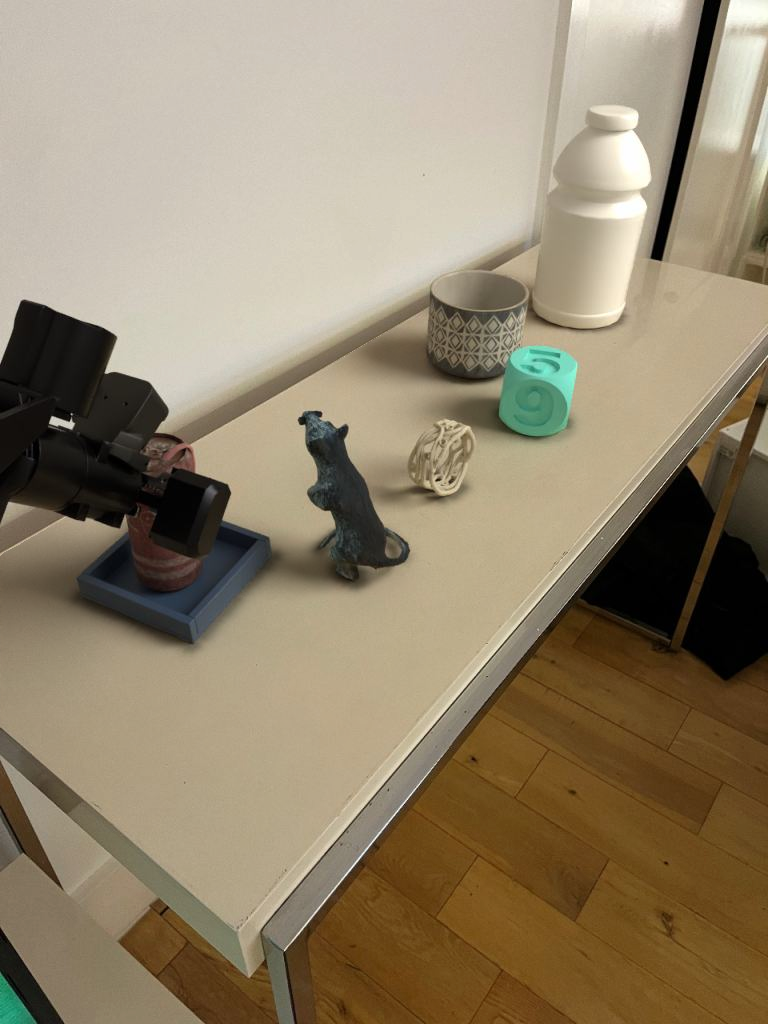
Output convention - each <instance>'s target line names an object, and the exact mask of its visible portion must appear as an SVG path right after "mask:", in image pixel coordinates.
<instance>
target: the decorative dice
mask: <svg viewBox="0 0 768 1024" xmlns="http://www.w3.org/2000/svg"><path fill="white" fill-rule="evenodd" d="M578 365H579V364H578V362H577V361H576V360H575V358H574V357H573V356H572V355H570V354H569V353H568V352H566V351H564V350H562V349H559V348H556V347H552V346H548V345H547V346H546V345H528V346H527V345H526V346H523V347H521V348H520V349H518V350H516V351H514V352H513V353H511V354H510V355H509V358H508V362H507V366H506V370H505V374H503V375H504V377H503V381H502V388H501V393H500V398H499V399H500V400H499V401H500V402H499V407H498V417H499V419H500V420H501V421H502V422H503V424H505V426H507V427H508V428H509V429H511V430H512V431H513V432H516V433H518V434H521V435H525V436H531V437H547V436H548V437H549V436H552V435H554V434H557V433H559V432H561V431H562V430H565V429H566V428H567V424H568V419H569V415H570V409H571V404H572V400H573V396H574V395H573V394H574V389H575V383H576V378H577V371H578Z"/></svg>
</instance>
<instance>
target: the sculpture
mask: <svg viewBox="0 0 768 1024" xmlns="http://www.w3.org/2000/svg"><path fill="white" fill-rule="evenodd" d="M322 417H323V412H322V410H305V411H303V412H302V413H301V416H299V417H298V418H297V422H298V425H299V426H305V427H304V430H305V431H304V442H305V443H304V444H305V447H306V450H307V451H308V453H309V455H310V456H311V457H312V459H313V461H314V464H315V467H316V472H317V473H316V474H317V475H316V476H317V477H316V478H317V480H316V481H315V482H314V484H313V485H311V486H310V487H309V488H308V489H307V491H306V495H307V498H308V499H309V501H310V502H311V503H312V505H314V506H315V507H316V508H318V509H320V510H321V511H324V512H330V514H331V516H332V519H333V521H334V527H335V529H334V530H333V531H332V532H330V533H329V534H328V535H327V537H326V538H325V539H324V540H323V541H322V543H321V545H320V546H319V549H320V550H323V549H324V548H325V547H326V546H327V545H328V544H330V542H331V541H332V540H333V539H334V540H333V541H332V544H331V545H330V548H329V549H330V551H329V553H330V555H329V556H330V558H331V559H332V562H333V563H334V564H335V565H336V566H337V568H336V569H335V571H336V572H337V573H338V575H340V576H341V577H344V578H345V579H348V580H351V581H354V582H357V580H358V579H359V578H360V574H359V569H358V567H359V566H362V567H370V568H372V569H374V570H378V569H383V568H393V567H395V566H400V565H403V564H406V563H407V560H408V558H409V555H410V553H411V549H410V546H409V545H410V544H409V543H408V541H406V539H404V538H403V537H401V536H400V535H399V534H398V533H396V532H395V531H392V530H391V529H390V528H388V527H386V526H385V524H384V523H383V521H382V520H381V518H380V517H379V515H378V513H377V511H376V509H375V506H374V503H373V501H372V498H371V495H370V490H369V486H368V484H367V482H366V480H365V477H363V475H362V474H361V473H360V471H359V470H358V469H357V467H356V466H355V464H354V463H353V462H352V461H351V458H350V457H349V454H348V450H347V446H346V442H345V439H346V438H347V436H348V434H349V425H348V424H347V423H344V424H342V425H341V426H340V427H336V426H335V425H334V424H333V423H332V422H331V421H330V420H322V419H321V418H322ZM387 538H390V539H391V540H393V541H394V542H396V544H397V545H398V547H399V548H400V551H401V552H400V555H398V557H392V558H391V557H389V556H387V554H386V549H387V543H388V542H387V541H388V540H387Z"/></svg>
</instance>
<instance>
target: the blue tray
mask: <svg viewBox="0 0 768 1024" xmlns="http://www.w3.org/2000/svg"><path fill="white" fill-rule="evenodd" d="M272 556H273V555H272V549H271V538H270V536H267V535H266V534H262V533H259V532H257V531H254V530H251V529H248V528H246V527H242V526H239V525H237V524H234V523H231V522H229V521H226V520H224V519H222V522H221V525H220V527H219V530H218V533H217V536H216V539H215V542H214V544H213V547H212V550H211V553H210V555H209V556H207V557H206V558H204V559H202V561H203V568H202V571H201V574H200V575H199V576H198V578H197V579H196V580H195V581H194V583H192V584H191V585H190V586H188V587H187V588H184V589H182V590H179V591H175V592H169V593H167V592H157V591H154V590H151V589H149V588H148V587H146V586H145V585H143V584H142V583H141V582H140V581H139V579H138V578H137V576H136V571H135V566H134V560H133V554H132V549H131V543H130V537H129V532H128V531H126V532H125V533H124V534H123V535H122V536H121V537H119V539H117V540H116V541H115V542H114V543H113V544H112V545H111V546H110V547H108V548H107V549H106V550H105V551H104V552H102V553H101V555H99V556H98V557H96V559H95V560H93V561H92V562H91V563H90V564H89V565H88V566H87V567H86V568H84V569H83V570H82V572H80V573H79V574H78V575H77V576H76V577H75V579H76V582H77V585H78V588H79V590H80V594H81V597H83V598H85V599H87V600H89V601H91V602H94V603H96V604H99V605H100V606H103V607H106V608H108V609H110V610H113V611H115V612H117V613H120V614H122V615H124V616H127V617H129V618H132V619H134V620H136V621H138V622H141V623H143V624H146V625H148V626H150V627H152V628H155V629H157V630H160V631H162V632H164V633H167V634H169V635H172V636H173V637H176V638H179V639H181V640H183V641H185V642H188V643H190V644H193V645H194V644H195V643H196V642H197V640H199V638H200V637H202V635H203V634H204V633H205V632H206V631H207V629H208V628H210V626H211V625H212V624H213V622H215V620H216V619H217V618H218V617H219V616H220V614H222V612H223V611H224V610H225V609H226V608H227V607H228V606H229V605H230V604H231V602H232V601H233V600H234V599H235V598H236V597H237V596H238V594H239V593H240V592H241V591H242V590H243V589H244V588H245V586H247V584H248V583H249V582H250V581H251V580H252V579H253V578H254V577H255V576H256V574H257V573H258V572H259V571H260V570H261V568H262V567H263V566H264V565H265V564H266V563H267V562H268V561H269V559H271V557H272Z"/></svg>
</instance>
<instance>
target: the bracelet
mask: <svg viewBox="0 0 768 1024" xmlns="http://www.w3.org/2000/svg"><path fill="white" fill-rule="evenodd" d="M445 437H446V438H447V437H449V439H448V440H447V439H446V438H445ZM460 440H461V441H460ZM469 440H470V448H469ZM459 441H460V445H459V446H458V447H456V448H454V444H457V443H458V442H459ZM431 443H433V444H432V447H431V449H430V451H425V446H427V445H429V444H431ZM439 447H440V448H441V450H440V452H439V454H438V456H437V457H436V453H437V449H438V448H439ZM476 447H477V442H476V437H475V435H474V433H473V431H472V427H470V426H469V425H466V424H464V423H462V422H458V421H456V420H453V419H452V420H449V419H447V418H442V419H441V420H437V421H436V422H433V424H432V426H431V427H430V428H429V429H427V430H426V431H424V432H423V433H422V434H421V435H420V436H419V438H418V440H417V441H416V443H415V445H414V447H413V449H412V450H411V452H410V455H409V457H408V461H407V473H408V477H409V478H410V479H411V481H412V482H413V483H414V484H415V485H418V486H419V487H421V488H423V489H427V490H430V491H434V492H435V495H436V496H439V497H445V496H449V495H453V494H455V493H456V492H457V491H458V490H459V489H460V487H461V485H462V482H463V480H464V478H465V476H466V474H467V473H466V472H467V470H468V465H469V463H470V461H471V459H472V457H473V456H474V454H475V451H476ZM447 451H448V455H447V458H446V459H445V461H443V463H442V464H441V466H440V468H439V471H438V473H436V470H437V468H438V466H439V465H440V463H441V462H442V460H443V459H444V457H445V455H446V454H447ZM460 451H461V452H460ZM458 452H460V453H459V455H458V456H457V457H456V459H455V456H456V454H457V453H458ZM454 459H455V460H454ZM414 461H415V462H414ZM427 461H428V462H429V472H428V479H427V480H426V476H427ZM459 463H461V465H460V467H459V469H456V467H457V466H458V464H459ZM451 479H454V480H453V481H452V482H451V483H450V481H451ZM436 480H438V481H436Z"/></svg>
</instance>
